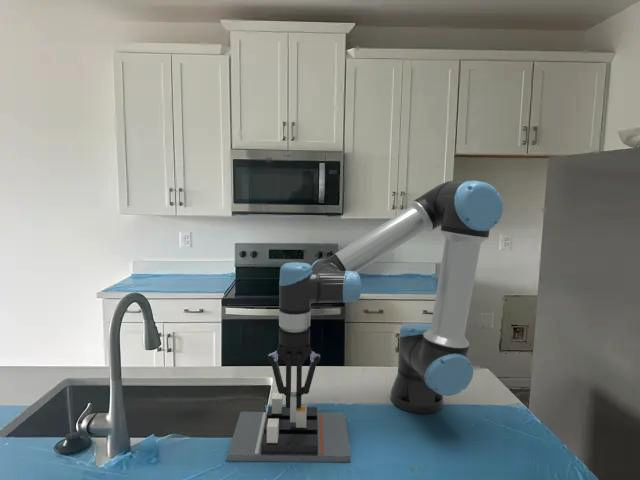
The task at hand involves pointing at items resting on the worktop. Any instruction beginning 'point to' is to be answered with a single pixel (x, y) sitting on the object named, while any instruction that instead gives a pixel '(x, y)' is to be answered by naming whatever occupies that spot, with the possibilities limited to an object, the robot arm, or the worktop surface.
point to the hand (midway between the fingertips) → (293, 419)
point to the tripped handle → (301, 416)
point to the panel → (251, 435)
